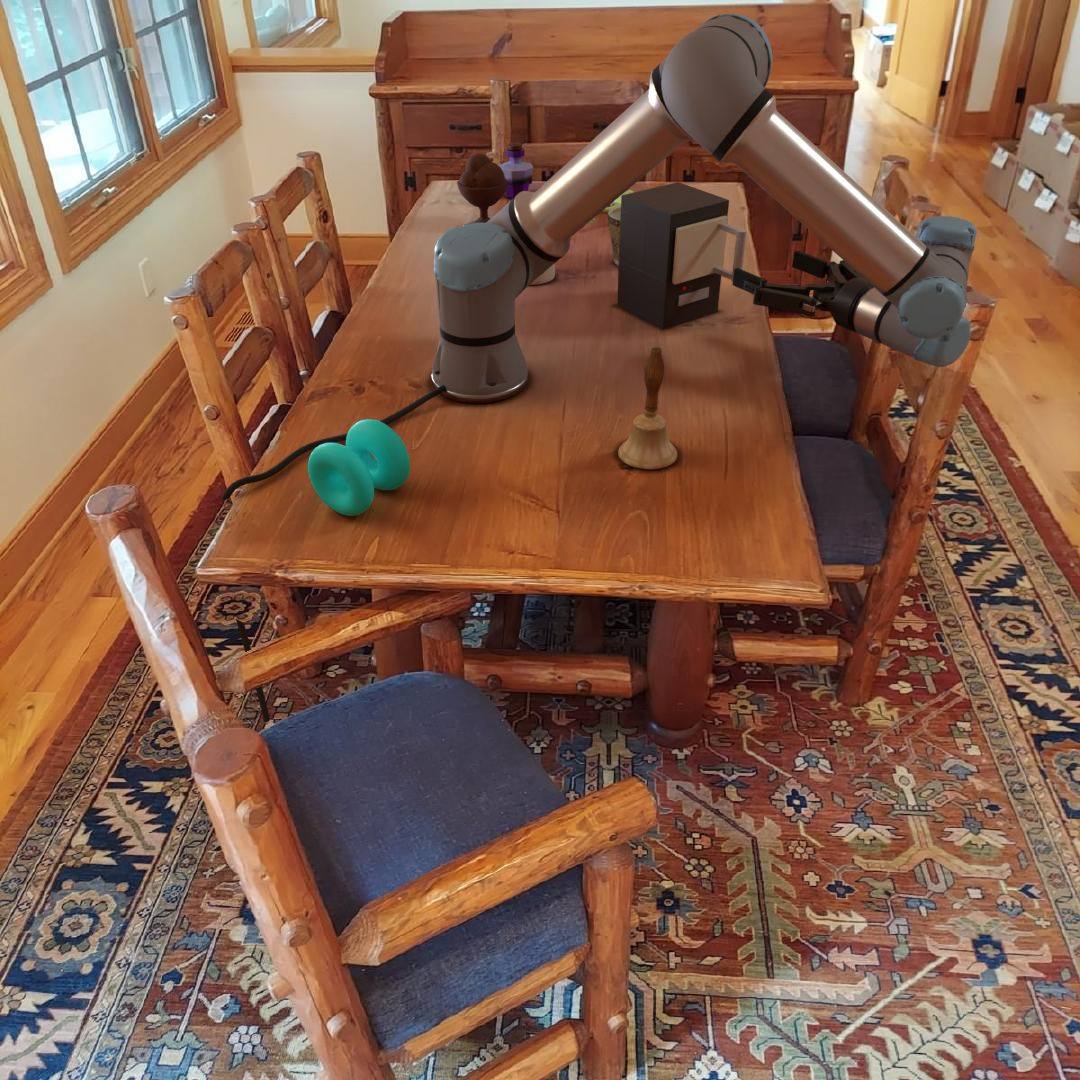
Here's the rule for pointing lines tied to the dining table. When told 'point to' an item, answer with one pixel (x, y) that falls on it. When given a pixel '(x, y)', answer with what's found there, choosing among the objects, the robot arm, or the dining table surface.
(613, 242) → the ceramic cup
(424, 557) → the dining table surface
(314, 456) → the teal yo-yo
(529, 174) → the potion bottle
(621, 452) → the hand bell
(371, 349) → the dining table surface
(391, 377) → the dining table surface
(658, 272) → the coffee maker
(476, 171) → the ice cream bowl
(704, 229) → the chamber door
